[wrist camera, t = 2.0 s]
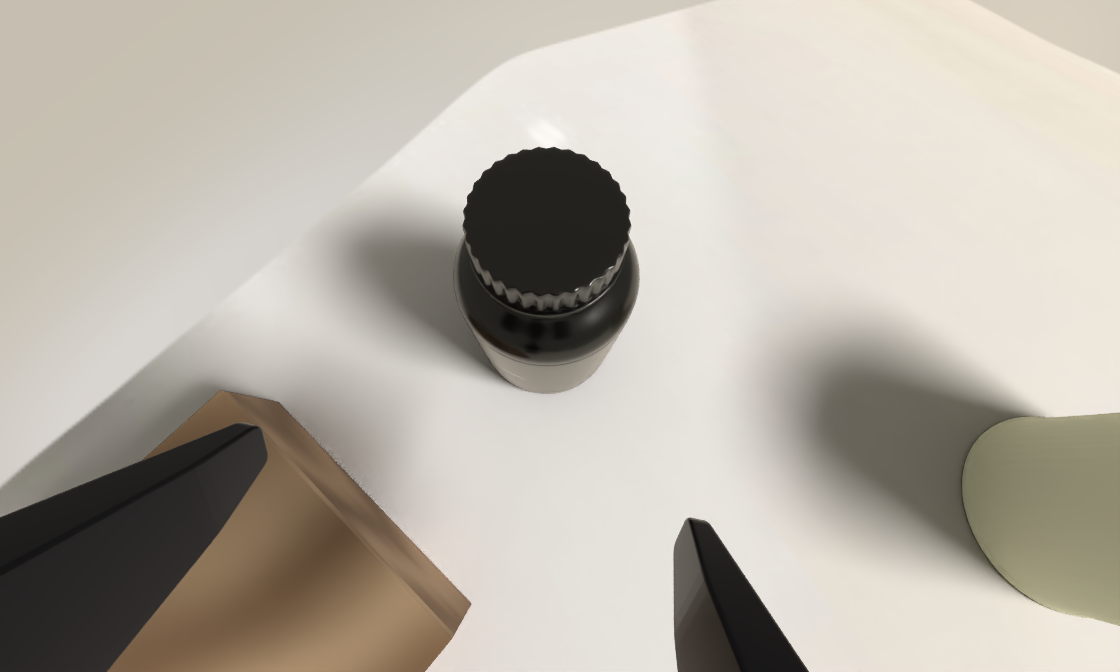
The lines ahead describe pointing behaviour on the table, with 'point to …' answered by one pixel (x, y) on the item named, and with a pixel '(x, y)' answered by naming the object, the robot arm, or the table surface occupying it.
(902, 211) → the table surface
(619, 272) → the supplement bottle
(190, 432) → the block
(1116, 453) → the can
